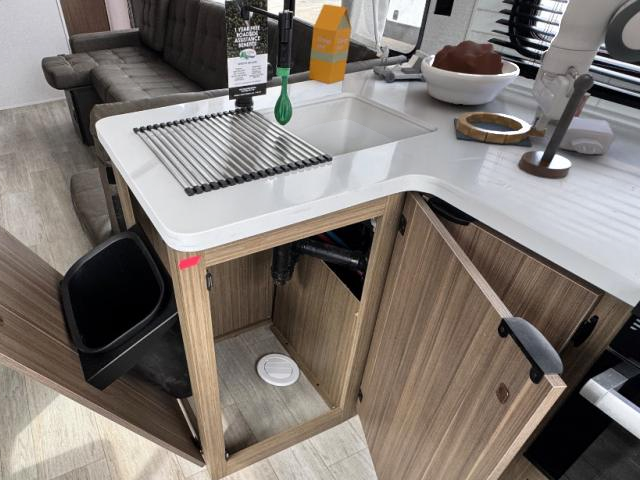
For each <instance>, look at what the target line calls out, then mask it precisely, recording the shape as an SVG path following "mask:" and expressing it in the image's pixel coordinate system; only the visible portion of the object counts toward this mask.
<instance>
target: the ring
mask: <svg viewBox="0 0 640 480" xmlns="http://www.w3.org/2000/svg"><path fill="white" fill-rule="evenodd" d="M457 119H458V120H457V123H456V128H457V130H458V131H459V132H461V133H463V134H464V135H466V136H468V137H472V138H475V139H479V140H482V141H484V140H485V141H487V142H496V143H515V142H521V141H522V140H524V139H526V138H527V136H528V137H535V138H545V135H546V133H547V131H548V127H547V126H546V127H545V129H544V130H543V131H538V130H536V128H535V126H534V125H533V124H529V123H528V122H527V121H524V120H522V119H520V118H518V117H516V116H512V115H507V114H504V113H499V112H491V111H469V112H468V111H467V112H464V113H462V114H460V115H459V116H458V117H457ZM469 122H490V123H497V124H500V125H504V126H508V127H510V128H512V129H514V130H516V131H513V132H498V131H489V130H485V129H482V128H478V127H474V126H473V125H471V124H469Z"/></svg>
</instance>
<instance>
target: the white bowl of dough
mask: <svg viewBox="0 0 640 480" xmlns="http://www.w3.org/2000/svg"><path fill="white" fill-rule="evenodd" d="M502 58H503V56H502V55H501V54H500V53H499V52H495V47H494V44H493V43H490V42H489V43H478V42H476V41H474V40H471V39H468V40H463V41H460V42H459V43H457V45H450V44H446V45H444V46H443V47H442V49H440V50H438V51H437V52H436V53H435V54H432V55H430V56H428V57H426V58H425V59H423V61H422V62H421V71H422V74H423V77H424V79H425V80H426V82H425V83H426V89H427V93H428V94H429V95H430V96H431V97H432V98H434V99H436V100H438V101H441V102H444V103H448V104H452V103H453V105H458V104H463V105H462V106H477V105H484V104H487V103H490V102H491V101H493V100H494V99H496V97H497V96H498V95H499V94H500V92H501V91H502V90H504V89H505V88H507V87H509V86H510V85H511V84H512V83H513V82H514V81H515V80H516V79H517V78H518V76H519V74H520V68H519V66H518V65H517V64H515V63H513V62H512V61H508V60H504V59H502Z"/></svg>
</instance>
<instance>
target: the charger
mask: <svg viewBox="0 0 640 480" xmlns="http://www.w3.org/2000/svg"><path fill="white" fill-rule="evenodd" d="M615 138H616V137H615V134H614V132H613V130H612V128H611V125H610V124H609V122H608V121H606V120H602V119H594V118H587V117H580V116H579V117H573V119H572V121H571V123H570V125H569V128H568V130H567V132H566V134H565V136H564V138H563V140H562V142H561V144H560V146H559V148H560V150H565V151H570V152H578V153H579V154H586V155H605V154H606V153H607V152H608V151H609V150H610V149H609V148H610V147H611V145H612V144H613V142H614V140H615Z"/></svg>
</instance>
